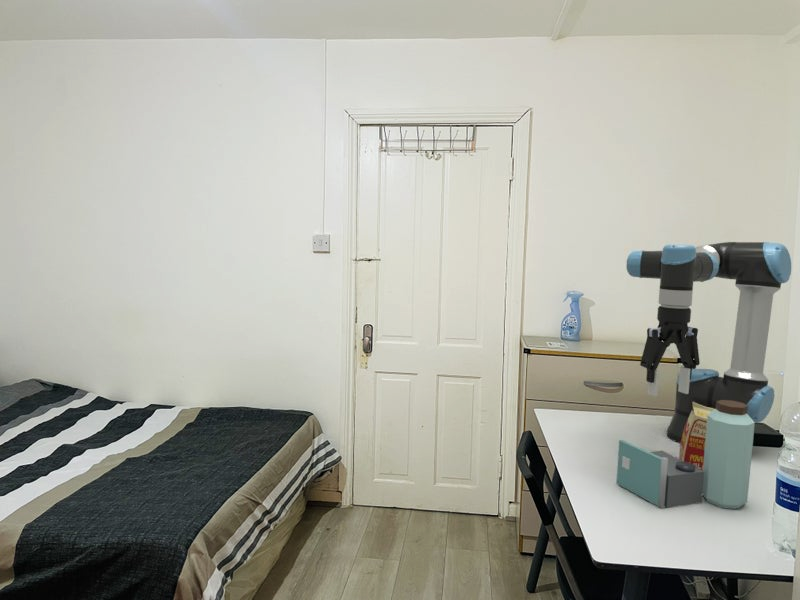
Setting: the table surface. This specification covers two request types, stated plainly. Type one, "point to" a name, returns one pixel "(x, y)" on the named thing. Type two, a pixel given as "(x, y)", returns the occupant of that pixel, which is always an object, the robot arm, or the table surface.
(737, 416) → the water bottle
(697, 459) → the milk carton
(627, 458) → the side door
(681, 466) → the camera body
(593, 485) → the table surface
